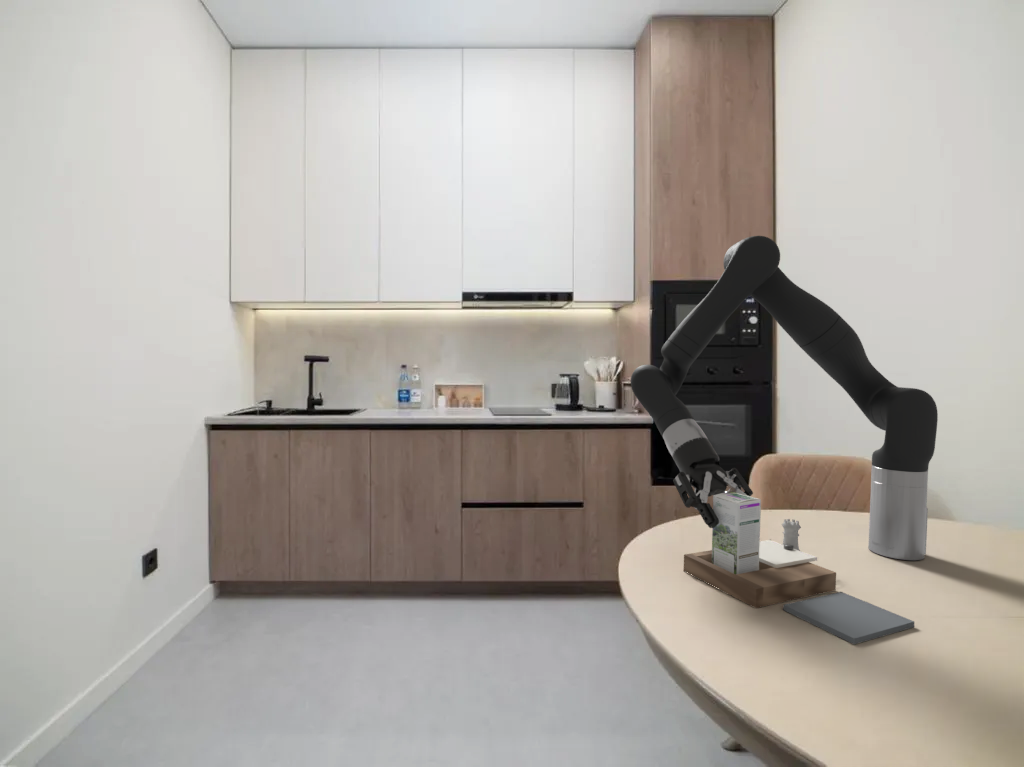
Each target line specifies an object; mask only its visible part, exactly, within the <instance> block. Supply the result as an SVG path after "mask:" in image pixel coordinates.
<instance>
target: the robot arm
mask: <svg viewBox="0 0 1024 767" xmlns="http://www.w3.org/2000/svg"><path fill="white" fill-rule="evenodd" d="M780 262H781V252H780V248H779V246H778V244H777V242H775V241H774V240H773V239H772V238H770V237H767V236H765V235H754V236H747V237H745V238H743V239H741V240H739V241H738V242H735V243H734V244H733V245H731V246H730V247H729V248H728V249H727V250H726V252H725V254H724V257H723V270H724V271H723V272H722V274H721V276H720V277H719V279H718V280H717V282H715V284H714V286H712V288H711V289H710V291H709V292H708V293H707V294H706V296H705V297H704V298H702V300H701V301H700V302H699V303H698V304H697V305H696V306H695V307H694V308H693V309H692V310H691V311H690V312H689V313H688V314H687V316H685V318H683V320H682V321H681V322H680V324H679V325H678V326H677V327H676V328H675V330H674V331H673V332H672V333H671V334H670V336H669V337H668V339H667V340H666V341H665V343H663V345H662V346H661V350H660V353H661V356H662V357H663V361H662V363H661V365H660V367H657V366H655V365H653V364H642V365H640V366H638V367H636V368H635V369H634V371H632V374H631V377H630V387H631V390H632V392H633V394H634V396H635V397H636V399H637V401H638V402H639V403H640V404H641V406H642V407H643V408H644V409H645V410H646V412H647V413H648V414H649V415H650V418H652V421H654V424H655V425H656V428H657V429H658V431H659V433H660V435H661V437H662V439H663V440H664V444H665V445H666V448H667V450H668V453H669V454H670V455H671V457H672V459H673V461H674V463H675V466H677V468H678V470H679V473H678V474H677V475H676V476H675V478H673V480H672V481H673V484H674V486H675V487H676V491H677V493H678V495H679V496H680V498H681V500H682V503H683V504H684V507H685V508H694V509H695V510H696V511H698V512H699V514H700V516H701V518H702V519H703V522H704V523H705V524H706V525H707V527H708V528H710V529H712V528H714V527H715V526H716V525H718V524H719V520H718V518H717V516H716V514H715V513H714V511H713V506H712V505H711V504H710V503H708V500H709V498H708V497H713V495H717V494H721V493H727V492H735V493H739V494H743V495H746V496H750V497H752V496H753V495H754V492H753V490H752V489H751V487H750V486H749V485H748V483H747V481H746V480H745V479H744V476H742V474H741V473H740V471H739V470H738V468H736V467H732V468H731V469H730V470H724V469H723V468H722V467H721V465H720V456H719V455H718V453H717V451H716V450H715V448H714V446H713V445H712V443H711V441H710V440H709V438H708V437H707V435H706V434H705V432H704V431H703V429H702V428H701V426H700V425H699V424H698V422H696V420H695V419H694V416H693V415H692V413H691V412H690V410H689V408H688V407H687V406H686V405H685V404H684V402H683V401H682V400H681V399H679V398H678V397H677V396H676V395H677V394H678V392H679V391H680V389H681V387H682V385H683V383H684V380H685V379H686V376H687V375H688V372H689V369H690V367H691V366H692V364H693V363H694V362H695V361H696V360H697V358H698V357H699V356H700V355H701V353H702V352H704V350H705V348H707V346H708V344H709V343H710V342H711V340H712V339H713V338H714V337H715V336H716V334H717V333H718V331H719V330H720V329H721V328H722V327H723V325H724V324H725V322H727V320H728V319H729V317H730V316H732V314H733V313H734V312H735V311H736V310H737V309H738V308H739V307H740V305H742V303H744V301H745V300H747V298H748V297H749V296H751V298H753V299H754V300H755V301H757V303H759V304H760V305H761V306H762V307H763V308H765V310H766V311H767V312H768V313H769V314H770V315H771V317H772V318H773V319H774V320H775V322H776V323H778V325H779V326H780V327H781V328H782V329H783V330H784V332H785V333H786V334H787V335H788V336H789V337H790V338H791V339H792V340H793V342H795V343H796V345H797V346H799V348H800V349H801V350H802V351H804V353H805V354H806V355H808V356H809V357H810V358H811V360H813V362H815V363H816V364H817V365H818V366H819V367H820V368H821V369H822V370H823V371H824V372H825V373H826V374H827V375H828V376H829V377H831V379H833V380H834V381H835V382H836V383H837V384H838V385H839V386H840V387H842V389H843V390H844V391H845V392H846V393H847V395H848V396H849V397H850V398H851V399H852V401H853V402H854V403H855V405H856V406H857V407H858V408H859V409H860V411H861V412H862V413H863V415H864V416H865V417H866V418H867V420H868V421H869V422H871V424H873V425H874V426H875V427H876V428H878V429H880V430H882V431H885V434H884V442H883V445H882V446H881V447H880V448H879V449H876V450H874V451H873V452H872V454H871V474H870V475H871V477H870V501H869V522H868V523H869V524H868V526H869V527H868V547H867V548H868V549H869V551H870V552H873V553H875V554H878V555H881V556H883V557H887V558H891V559H896V560H897V559H898V560H904V561H921V560H923V559H925V555H927V538H928V537H927V536H928V519H929V518H928V516H929V515H928V514H929V511H928V510H929V508H928V507H927V506H928V505H927V504H928V503H927V502H928V484H929V482H928V479H929V465H930V462H931V460H932V459H933V456H934V453H935V449H936V438H937V428H938V420H939V419H938V418H939V417H938V406H937V404H936V401H935V400H934V398H933V397H932V395H931V394H930V393H928V392H927V391H925V390H923V389H919V388H913V387H899V386H897V385H895V384H894V383H892V381H890V380H888V379H887V378H886V377H885V376H884V375H883V374H882V373H880V371H878V369H877V368H875V366H874V365H873V364H872V363H871V362H870V359H869V358H868V356H867V354H866V353H867V352H866V350H865V349H864V345H863V343H862V341H861V339H860V337H859V335H858V334H857V332H856V331H855V330H854V328H853V327H852V326H851V325H850V324H849V323H848V322H847V321H846V320H845V319H844V318H843V317H842V316H841V315H839V313H838V312H837V311H835V310H834V309H833V308H832V307H831V306H830V305H828V304H826V303H825V302H824V301H823V300H822V299H819V298H817V297H816V296H814V295H813V294H812V293H810V292H808V291H806V290H805V289H803V288H801V287H800V286H798V285H797V284H795V283H794V282H793V281H792V280H791V279H790V278H789V276H787V275H786V274H785V273H784V272H783V271H782V269H780V267H779V264H780ZM727 487H729V489H728V490H727Z"/></svg>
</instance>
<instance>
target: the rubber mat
mask: <svg viewBox="0 0 1024 767" xmlns="http://www.w3.org/2000/svg"><path fill="white" fill-rule="evenodd" d="M783 611H784V612H787V613H788V614H791V615H793V616H795V617H797V618H799V619H801V620H803V621H806V622H807V623H810V624H812V625H813V626H815V627H818V628H820V629H821V630H824V631H826V632H828V633H829V634H832V635H834V636H836V637H839V638H840V639H842V640H843V641H846V642H848V643H850V644H853V645H856V644H857V645H858V644H860V643H864V642H867V641H870V640H874V639H877V638H882V637H884V636H889V635H892V634H896V633H898V632H901V631H905V630H908V629H909V630H910V629H912V628H915V621H914V620H911V619H909V618H907V617H904V616H902V615H899V614H897V613H895V612H892V611H890V610H887V609H885V608H882V607H880V606H877V605H875V604H873V603H870V602H869V601H865V600H862V599H861V598H858V597H855V596H852V595H850V594H847V593H845V592H843V591H839V592H833V593H829V594H826V595H825V594H824V595H820V596H816V597H811V598H806V599H803V600H798V601H793V602H790V603H786V604H783Z"/></svg>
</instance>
